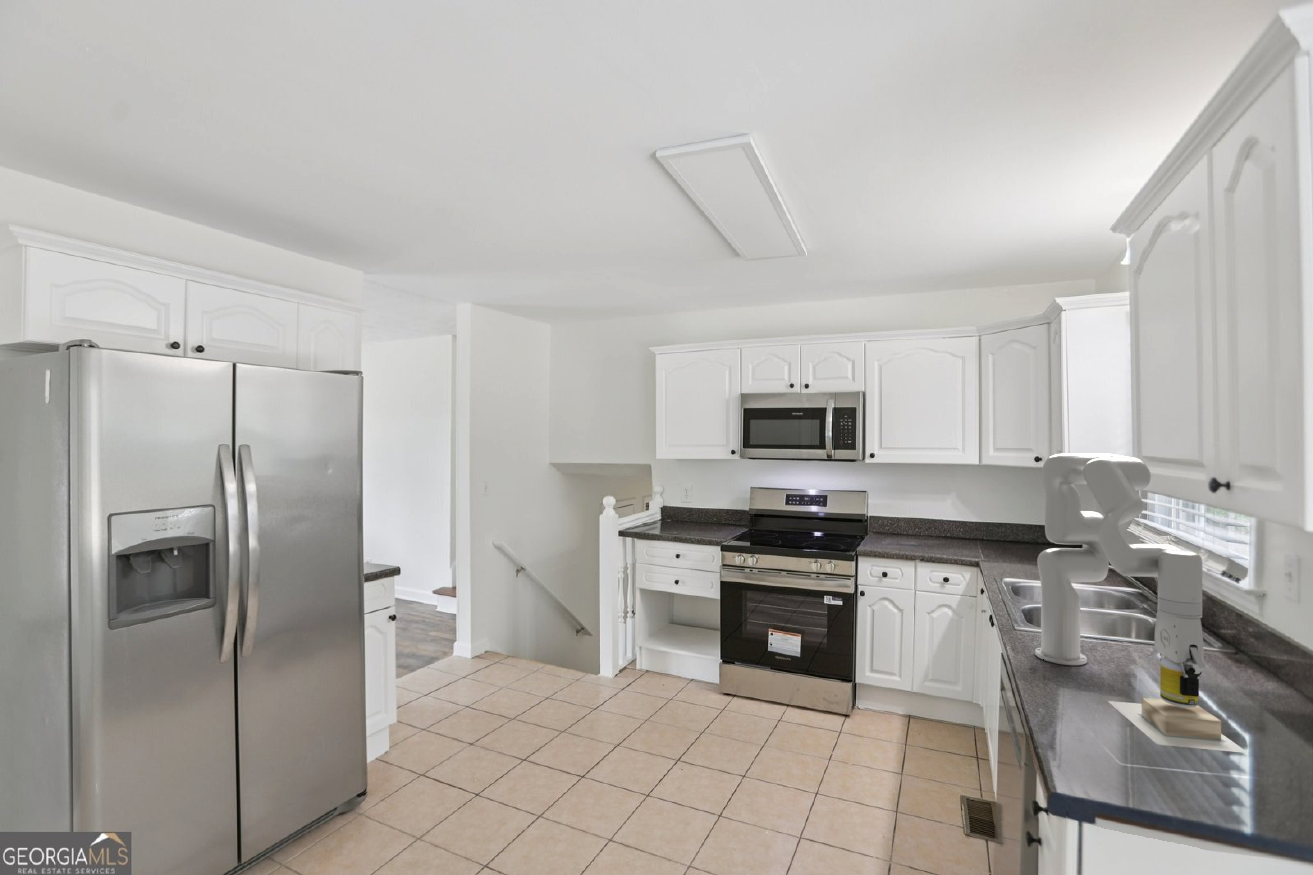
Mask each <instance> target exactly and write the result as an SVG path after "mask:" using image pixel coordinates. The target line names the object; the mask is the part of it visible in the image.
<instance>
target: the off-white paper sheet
mask: <svg viewBox="0 0 1313 875" xmlns="http://www.w3.org/2000/svg"><path fill="white" fill-rule="evenodd" d="M1107 703H1109V704H1110V705H1112V706H1113V708H1114V709H1116V710H1117V711H1118V712H1119V713H1121V715H1123V716H1124V717H1125V718H1126V719H1127V720H1129V721H1130V723H1132V724H1133V725H1134V726H1135V727H1137V728H1138V729H1139V730H1140V731H1141V732H1142V733H1144V735H1146V736H1147V737H1148V738H1149V739H1150V740H1152V741H1153V742H1154V743H1155V744H1156V745H1157V746H1158V745H1159V746H1171V747H1181V748H1191V749H1198V750H1199V749H1202V750H1210V751H1212V750H1213V751H1221V752H1222V751H1223V752H1234V753H1245V754H1249V752H1248V751H1247V750H1246V749H1244V748H1243V747H1241V746H1240V745H1239V744H1236V743H1235V742H1234V741H1233V740H1232V739H1229V738H1228V737H1227V736H1225V735H1224V734H1222V733H1221V740H1213V739H1202V738H1191V737H1180V736H1169V735H1165V734H1164V733H1163V732H1162V731H1160V730H1159V729H1158V728H1157V727H1156V726H1154V725H1153V724H1152V723H1151V722H1149V721H1148V720H1147V719H1146V718H1145V717H1143V716H1142V703H1138V702H1136V703H1135V702H1124V701H1123V702H1122V701H1113V700H1107Z"/></svg>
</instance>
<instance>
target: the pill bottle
mask: <svg viewBox="0 0 1313 875" xmlns="http://www.w3.org/2000/svg"><path fill="white" fill-rule="evenodd" d="M1185 662H1192V661H1191V660H1186V661H1185ZM1190 667H1192V666H1188V665H1186V668H1187V670H1188V669H1189V668H1190ZM1159 668H1160V671H1159V672H1160V674H1159V676H1160V677H1159V678H1160V679H1159V680H1160V690H1159V691H1160V692H1159V694H1160V699H1162V700H1164V701H1165V702H1167V703H1169V704H1172V705H1175V706H1179V707H1186V708H1193V707H1196V706H1199V696H1197V697H1196V696H1184V695H1181V694H1180V676H1183V675H1182V671H1181V667H1180V663H1175V662H1173V661H1172V660H1170V659H1168V658H1167V657H1166V658H1163V659H1162V660H1161V662H1160V667H1159Z"/></svg>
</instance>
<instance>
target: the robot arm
mask: <svg viewBox="0 0 1313 875" xmlns="http://www.w3.org/2000/svg"><path fill="white" fill-rule="evenodd" d="M1041 469H1042V470H1041V478H1042V479H1041V480H1042V483H1043V486H1044V492H1045V505H1044V506H1045V508H1044V509H1045V510H1044V534H1045V538H1046V539H1047V540H1048V541H1049V542H1050V543H1054V544H1057V545H1080V546H1081V545H1082V547H1081V548H1078V547H1077V548H1072V547H1071V548H1070V547H1053V548H1052V547H1051V548H1048V549H1044V550H1043V551H1040V553H1039V554H1038V556H1037V560H1036V562H1037V563H1036V564H1037V565H1036V566H1037V569H1038V574H1039V580H1040V581H1039V582H1040V592H1041V595H1040V597H1041V598H1040V602H1041V605H1040V606H1041V609H1040V610H1041V614H1040V615H1041V619H1040V620H1041V624H1040V625H1041V626H1040V629H1041V636H1040V637H1041V639H1040V642H1041V644H1040V645H1041V646H1040V647H1037V648H1035V650H1034V654H1035V656H1036V657H1037V658H1039V659H1041V660H1043V659H1044V660H1043V661H1046V662H1049V663H1053V664H1058V665H1063V666H1065V665H1066V666H1082V665H1085V664H1087V663H1088V658H1087V656H1086V655H1085V654H1083V653H1082V652H1081V597H1080V595H1079V593H1078V592H1077V590H1076V589H1075V588H1074V586H1073V585H1072V583H1099V582H1102V581H1104V580H1105V579H1106V578H1107V576H1108V572H1109V565H1111V567H1112V568H1113V569H1114V571H1116V572H1117V573H1118V574H1120V575H1122V576H1126V577H1138V578H1139V577H1146V578H1147V577H1148V578H1157V613H1156V618H1155V625H1154V627H1155V628H1154V643H1153V644H1154V649H1155V651H1156V652H1157V653H1159V655H1160V658H1159V661H1160V663H1161V660H1162V659H1163V658H1166V657H1167V658H1168V659H1170V660H1172V661H1173V662H1175V663H1180V667H1181V671H1182V675H1183V676H1180V694H1181V695H1184V696H1196V697H1197V696H1198V697H1199V695H1200V686H1199V685H1200V682H1199V681H1200V679H1201V675H1202V673H1203V671H1204V670H1205V669H1206V666H1205V663H1204V637H1203V627H1202V621H1201V619H1202V618H1203V559H1202V557H1201V555H1200V554H1199V553H1197V552H1193V551H1190V550H1183V549H1181V548H1179V547H1177V546H1175V545H1172V544H1167V543H1166V544H1165V543H1128V542H1127V541H1126V539H1125V537H1124V536H1123V534H1122V532H1121V530H1120V525H1123V524H1125V523H1127V522H1129V521H1132V520H1134V519H1136V518H1138V517H1139V516H1140V515H1141V514H1142V513H1143V512H1144V509H1145V502H1144V501H1143V500H1142V498H1141V496H1140V495H1139V493H1138V492H1137V491H1141V490H1144V489H1145V488H1147V487H1148V486H1149V484H1150V483H1151V472H1150V469H1149V467H1148V465H1147V464H1146V463H1145V462H1144V461H1142V460H1141V459H1139V458H1137V457H1131V456H1127V455H1126V456H1124V455H1119V454H1113V453H1079V452H1078V453H1076V452H1075V453H1072V452H1071V453H1068V452H1067V453H1057V454H1054V455H1051V456H1049V457H1048V458H1046V460H1045V461H1044V463H1043V465H1042V468H1041ZM1075 485H1087V486H1088V489H1090V491H1091V493H1092V495H1093V497H1094V499H1095V500H1096V501H1097V504H1098V505H1099V508H1100V509H1101V511H1102V512H1103V514H1101V513H1100V512H1097V511H1092V510H1091V511H1090V510H1081V509H1082V508H1081V506H1082V505H1081V504H1082V498H1081V494H1080V492H1079V491H1078V489H1077V488H1076V486H1075ZM1186 660H1191V661H1192V662H1185V661H1186ZM1186 665H1188V666H1192V667H1190V668H1189V669H1188V670H1187V668H1186Z"/></svg>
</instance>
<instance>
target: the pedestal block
mask: <svg viewBox="0 0 1313 875" xmlns="http://www.w3.org/2000/svg"><path fill="white" fill-rule="evenodd" d="M1141 704H1142V716H1143V717H1145V718H1146V719H1147V720H1148V721H1149V722H1151V723H1152V724H1153V725H1154V726H1156V727H1157V728H1158V729H1159V730H1160V731H1162V732H1163V733H1164V734H1165V735H1169V736H1180V737H1191V738H1202V739H1213V740H1221V734H1222V720H1220V719H1219V718H1217V717H1216V716H1214V715H1213V714H1211V713H1210V712H1208V711H1207V710H1206V709H1204V708H1202V707H1201V706H1200V705H1198V706H1196V707H1193V708H1186V707H1179V706H1175V705H1172V704H1169V703H1167V702H1165V701H1164V700H1162V698H1154V697H1153V698H1151V697H1141Z"/></svg>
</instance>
